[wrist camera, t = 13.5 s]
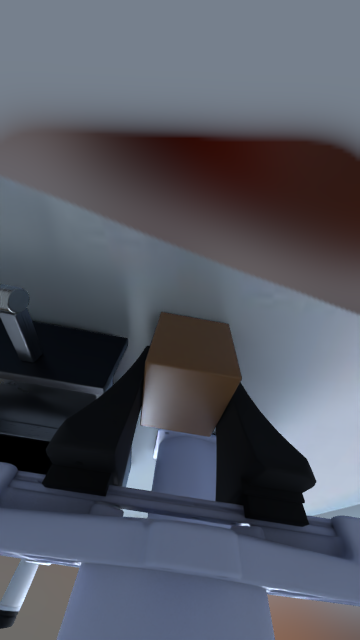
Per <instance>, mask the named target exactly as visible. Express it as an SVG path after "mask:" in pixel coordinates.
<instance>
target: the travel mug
mask: <svg viewBox="0 0 360 640" xmlns="http://www.w3.org/2000/svg"><path fill="white" fill-rule="evenodd" d="M25 560H26V559H21V561H20V563H19V565H18V567H17V569H16V571H15V573H14V575H13V577H12V579H11V582H10V584H9V586H8V588H7V590H6V592H5V594H4V596H3V598H2V600H1V602H0V629H1V628H7V627H11V626H12V625H13V623H14V621H15V619H16V615H17V614H18V611H19V610H20V607H21V605H22V603H23V601H24V598H25V596H26V594H27V591H28V589H29V587H30V584H31V582H32V580H33V577H34V575H35V573H36V570H37V568H38V566H39V564H36V563H30V562H26V561H25Z"/></svg>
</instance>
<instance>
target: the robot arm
mask: <svg viewBox="0 0 360 640" xmlns="http://www.w3.org/2000/svg"><path fill="white" fill-rule="evenodd" d="M149 348H150V346H146V348H145V349H144V351H143V352H142V354H141V355H140V356H139V358H138V359H137V360H136V362H135V363H134V364H133V365H132V366H131V368H130V369H129V370H128V371H127V372H126V373H125V374H124V375H123V376H122V377H121V378H120V379H119V380H118V381H117V382H116V383H115V384H114V385H113V386H112V387H110V388H109V389H108V390H107V391H106V392H104V393H103V394H102V395H101V396H99V397H98V398H97V399H95V400H94V401H93V402H91V403H90V404H89V405H87V406H86V407H84V408H83V409H81V410H80V411H78V412H77V413H75V414H73V415H72V416H70V417H69V418H67V419H66V420H65V421H64V422H63V423H62V425H61V426H60V427H59V429H58V430H57V431H56V433H55V434H54V436H53V438H52V439H51V441H50V443H49V444H48V446H47V448H46V453H47V455H48V457H49V459H50V460H51V462H52V465H51V467H50V469H49V470H48V472H47V474H46V475H43V474H37V473H30V472H24V471H18V469H17V467H16V466H14V465H12V464H9V463H4V462H0V555H2V556H9V557H15V558H21V559H28V560H34V561H41V562H47V563H53V564H60V565H66V566H73V567H79V571H78V574H77V578H76V580H75V584H74V587H73V590H72V593H71V596H70V599H69V603H68V606H67V609H66V612H65V615H64V618H63V621H62V625H61V628H60V631H59V634H58V637H57V640H275V638H274V632H273V626H272V620H271V615H270V609H269V604H268V597H267V594H270V595H278V596H285V597H293V598H301V599H309V600H317V601H324V602H332V603H338V604H346V605H353V606H360V518H355V517H349V516H335V517H333V518H331V519H326V518H320V517H313V516H307V515H306V513H305V510H304V507H303V504H302V503H305V500H304V497H303V494H302V493H303V492H305V491H307V490H308V489H310V488H312V487H313V486H314V485H315V483H316V480H315V477H314V474H313V472H312V469H311V467H310V465H309V463H308V461H307V459H306V458H305V457H304V456H303V455H302V454H301V453H300V452H299V451H298V450H296V449H295V448H294V447H293V446H292V445H291V444H290V443H289V442H288V441H287V440H286V439H285V438H284V437H283V436H282V435H281V434H280V433H279V432H278V431H277V430H276V429H275V428H274V427H273V425H272V424H271V423H270V422H269V421H268V420H267V419H266V418H265V416H264V415H263V414H262V413H261V412H260V410H259V409H258V408H257V406H256V405H255V404H254V402H253V401H252V400H251V398H250V397H249V395H248V394H247V392H246V391H245V389H244V387H243V386H242V384H241V382H240V383H239V385H238V387H237V389H236V391H235V392H234V394H233V396H232V398H231V400H230V401H229V403H228V405H227V407H226V409H225V411H224V412H223V414H222V416H221V418H220V420H219V421H218V423H217V425H216V435H211V436H210V437H207V436H201V435H195V434H188V433H182V432H176V431H170V430H164V429H158V434H157V439H156V444H155V449H154V454H153V458H154V459H156V466H155V472H154V479H153V485H152V491H146V490H140V489H133V488H127V487H122V484H123V480H124V475H125V471H126V467H127V462H128V458H129V454H130V450H131V445H132V441H133V437H134V433H135V429H136V425H137V421H138V417H139V413H140V410H141V407H142V396H143V384H144V372H145V361H146V358H147V355H148V352H149ZM117 508H120V509H127V510H133V511H140V512H146V513H148V517H147V518H134V517H123V513H124V512H123V510H120V509H117Z"/></svg>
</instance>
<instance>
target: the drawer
mask: <svg viewBox="0 0 360 640" xmlns="http://www.w3.org/2000/svg"><path fill="white" fill-rule="evenodd" d="M28 304H29V294H28V292H27V291H26V290H25V289H23V288H20V287H15V286H9V285H4V284H0V311H1V312H0V436H6V437H12V438H18V439H25V440H31V441H37V442H43V443H50V441H51V439H52V438H53V436H54V434H55V433H56V431H57V430H58V429H59V427H60V426H61V425H62V423H63V422H64V421H65V420H66V419H67V418H69V417H70V416H72V415H73V414H75V413H77V412H78V411H80V410H81V409H83V408H84V407H86V406H87V405H89V404H90V403H91V402H93V401H94V400H95V399H97V398H98V397H99V396H101V395H102V394H103V393H104V392H106V391H107V390H108V389H109V388H110V387H112V386H113V376H114V374H115V371H116V369H117V367H118V365H119V363H120V361H121V359H122V357H123V354H124V352H125V350H126V348H127V346H128V338H124V337H119V336H113V335H107V334H102V333H96V332H90V331H85V330H79V329H73V328H68V327H62V326H56V325H51V324H45V323H39V322H34V321H32V320H31V317H30V314H29V312H28V309H27V306H28Z"/></svg>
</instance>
